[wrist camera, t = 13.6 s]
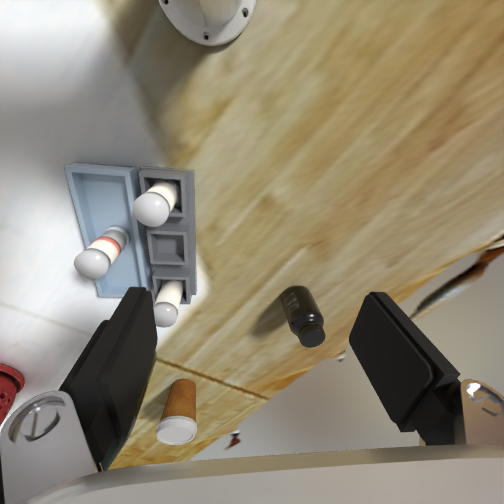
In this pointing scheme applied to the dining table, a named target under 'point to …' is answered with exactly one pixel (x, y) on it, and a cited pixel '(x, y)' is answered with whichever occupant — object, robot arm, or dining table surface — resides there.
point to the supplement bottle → (303, 316)
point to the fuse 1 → (157, 202)
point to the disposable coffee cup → (179, 414)
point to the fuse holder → (173, 233)
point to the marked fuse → (102, 252)
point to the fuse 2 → (168, 302)
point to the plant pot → (8, 389)
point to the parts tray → (111, 221)
